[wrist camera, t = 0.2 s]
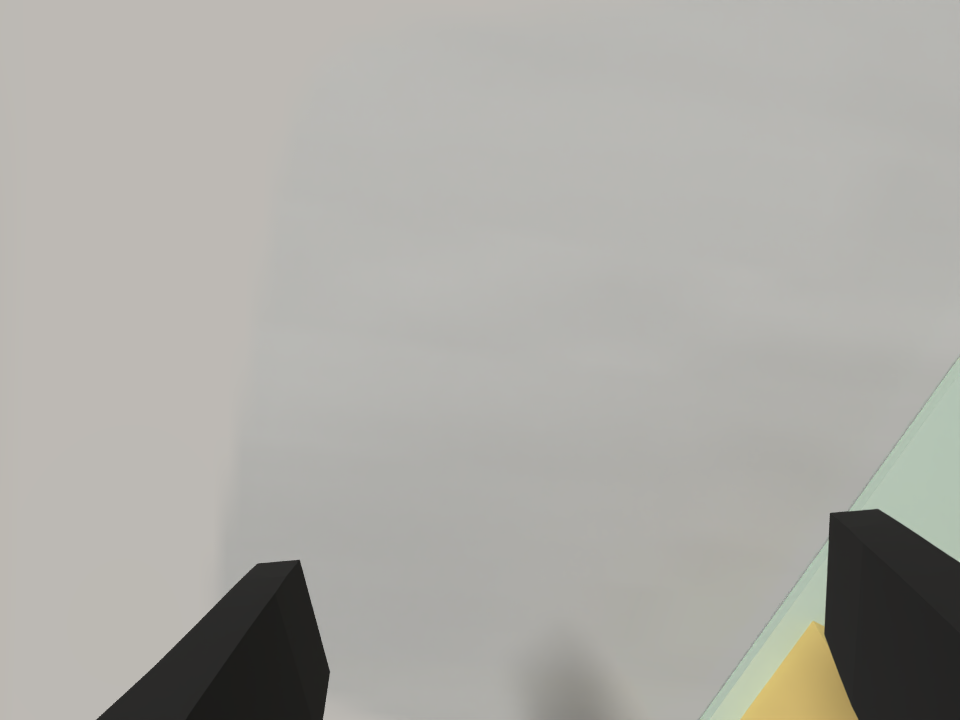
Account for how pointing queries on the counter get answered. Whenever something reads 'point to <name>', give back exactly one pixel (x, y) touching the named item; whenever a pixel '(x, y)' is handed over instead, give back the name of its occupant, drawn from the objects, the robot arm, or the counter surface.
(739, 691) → the mat
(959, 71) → the counter surface
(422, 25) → the counter surface
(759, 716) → the yellow block
